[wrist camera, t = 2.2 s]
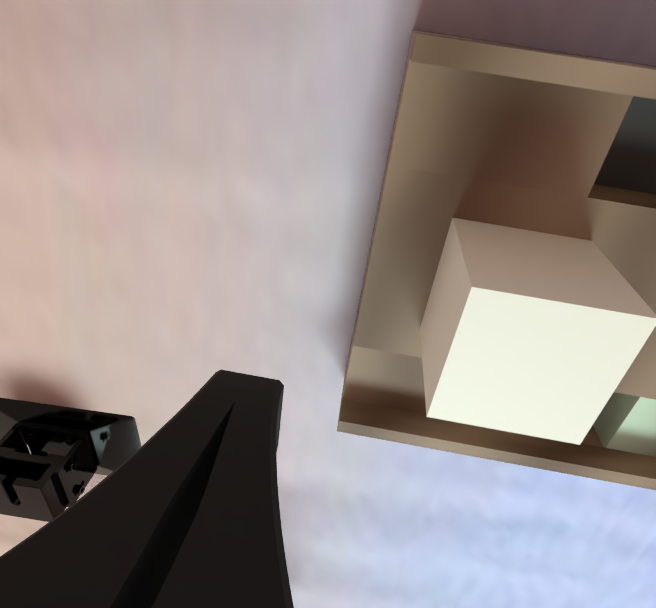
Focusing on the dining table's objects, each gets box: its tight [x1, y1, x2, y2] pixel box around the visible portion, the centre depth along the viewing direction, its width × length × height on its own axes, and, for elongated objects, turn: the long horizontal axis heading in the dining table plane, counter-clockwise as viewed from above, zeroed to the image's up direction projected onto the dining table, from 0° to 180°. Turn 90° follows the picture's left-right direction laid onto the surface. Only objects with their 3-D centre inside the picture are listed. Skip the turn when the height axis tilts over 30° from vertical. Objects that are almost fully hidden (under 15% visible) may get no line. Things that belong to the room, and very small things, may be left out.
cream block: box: [420, 218, 656, 445], centre depth 14 cm, size 4×4×4 cm
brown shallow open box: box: [337, 30, 656, 490], centre depth 16 cm, size 18×14×3 cm
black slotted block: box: [0, 398, 141, 522], centre depth 25 cm, size 12×7×5 cm, turn 86°
